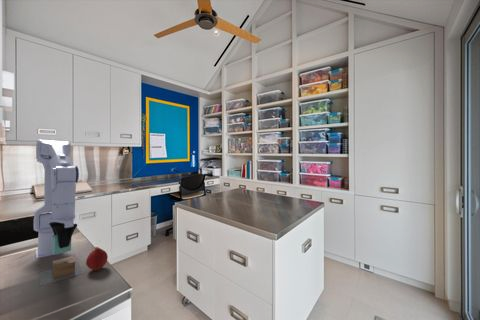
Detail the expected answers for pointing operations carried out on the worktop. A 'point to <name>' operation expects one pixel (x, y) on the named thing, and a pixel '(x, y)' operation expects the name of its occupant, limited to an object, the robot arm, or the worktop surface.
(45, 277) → the mat
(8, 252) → the worktop surface
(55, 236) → the teal block
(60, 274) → the walnut block
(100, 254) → the red round piece
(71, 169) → the robot arm
